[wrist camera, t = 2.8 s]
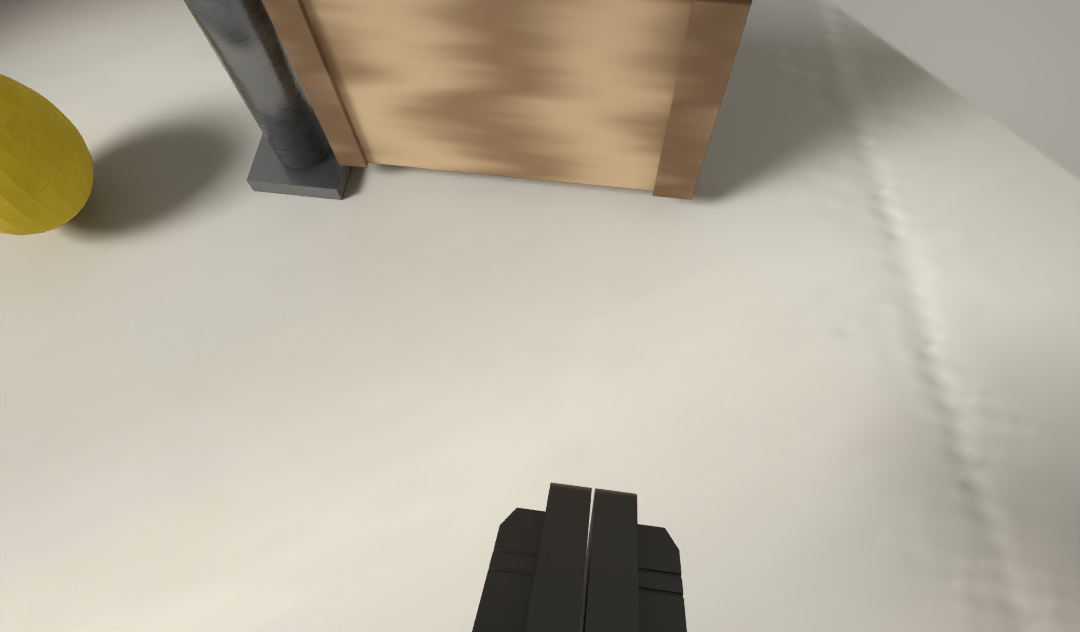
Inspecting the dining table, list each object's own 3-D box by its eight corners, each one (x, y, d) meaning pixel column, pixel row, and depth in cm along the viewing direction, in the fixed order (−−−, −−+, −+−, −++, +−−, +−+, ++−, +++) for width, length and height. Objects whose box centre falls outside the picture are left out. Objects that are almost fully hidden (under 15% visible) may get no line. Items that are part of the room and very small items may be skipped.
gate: (339, 164, 31) (229, -70, 21) (350, 127, 32) (249, -117, 22) (691, 199, 30) (761, -30, 20) (694, 159, 31) (762, -82, 21)
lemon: (106, 139, 34) (-20, 2, 26) (147, 227, 32) (23, 106, 24) (-13, 195, 33) (-179, 68, 25) (22, 290, 31) (-147, 182, 23)
